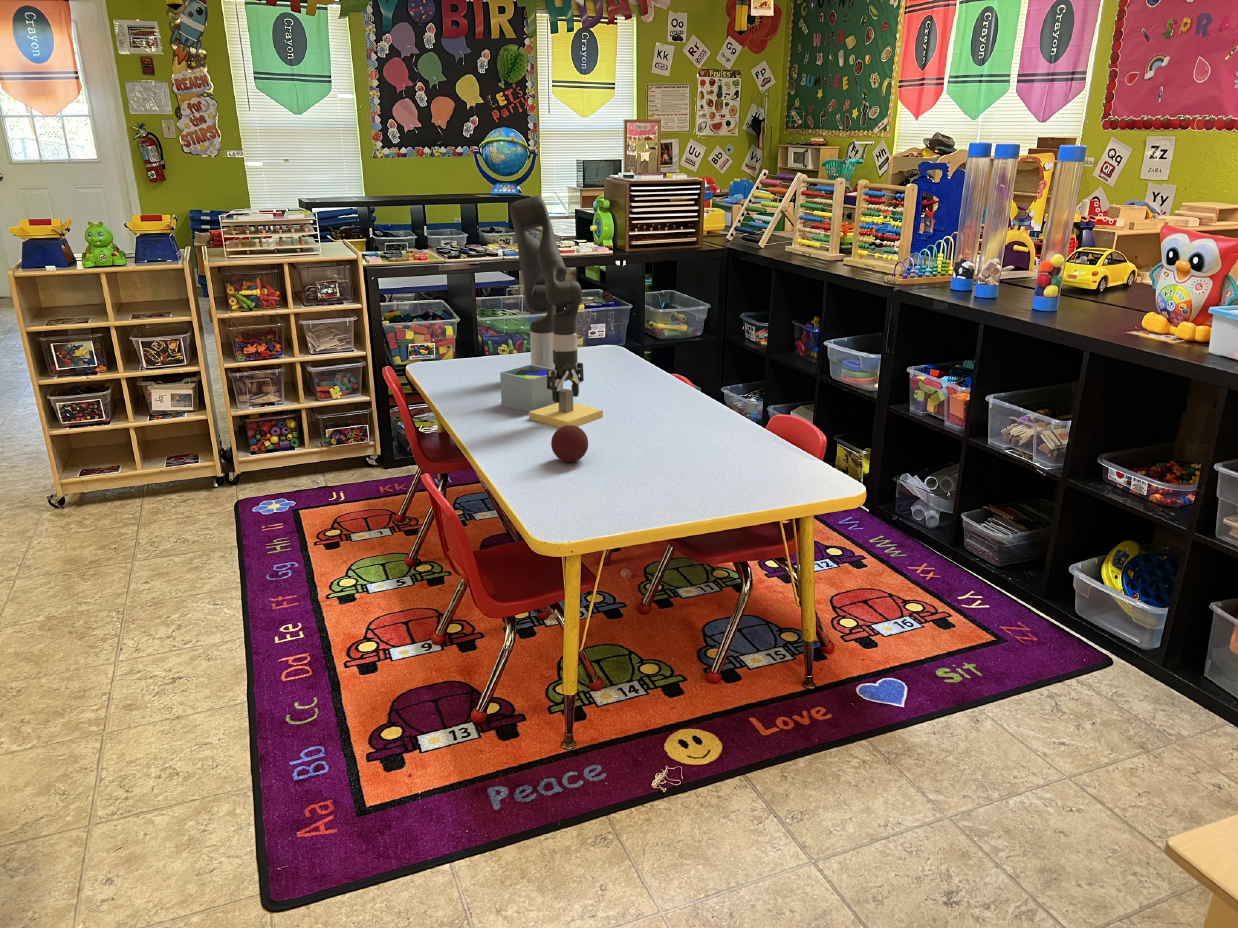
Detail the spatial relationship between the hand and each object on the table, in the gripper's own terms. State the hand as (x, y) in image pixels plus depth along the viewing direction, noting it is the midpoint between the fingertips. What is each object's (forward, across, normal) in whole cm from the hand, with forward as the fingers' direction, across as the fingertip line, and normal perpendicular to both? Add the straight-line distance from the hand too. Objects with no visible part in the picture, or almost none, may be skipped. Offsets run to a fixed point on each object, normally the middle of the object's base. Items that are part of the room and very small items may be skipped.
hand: (565, 399), depth 277 cm
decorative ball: (+6, +28, +27) cm, 39 cm away
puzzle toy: (+6, -4, -18) cm, 20 cm away
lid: (+6, 0, 0) cm, 6 cm away
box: (+6, -4, -18) cm, 20 cm away
